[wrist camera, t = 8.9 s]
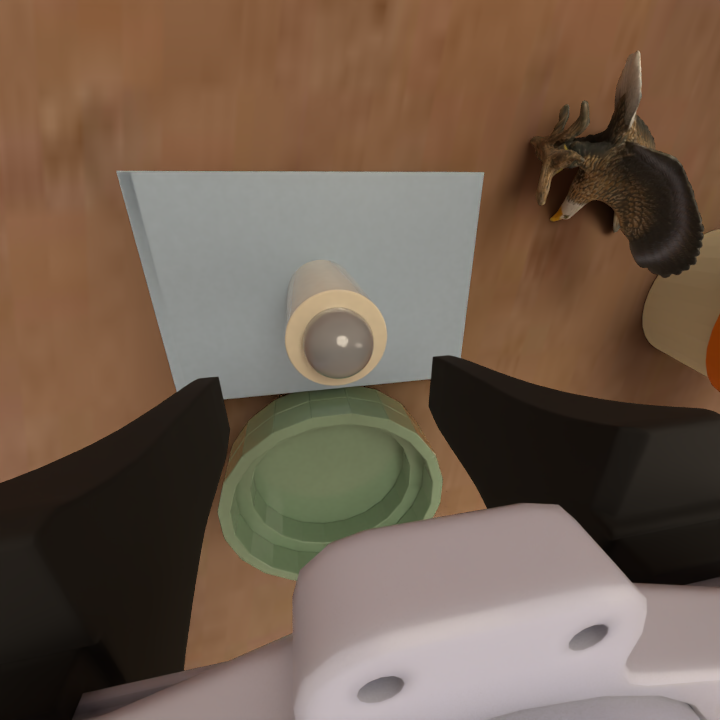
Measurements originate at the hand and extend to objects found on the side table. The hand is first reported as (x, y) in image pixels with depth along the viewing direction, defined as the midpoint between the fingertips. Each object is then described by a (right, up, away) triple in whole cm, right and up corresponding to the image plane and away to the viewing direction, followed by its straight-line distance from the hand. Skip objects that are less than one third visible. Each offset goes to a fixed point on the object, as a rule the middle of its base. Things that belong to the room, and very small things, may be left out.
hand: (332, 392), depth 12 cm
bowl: (-1, -6, +13) cm, 15 cm away
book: (-1, +5, +8) cm, 9 cm away
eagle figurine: (+13, +11, +8) cm, 19 cm away
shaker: (-1, +4, +6) cm, 7 cm away
